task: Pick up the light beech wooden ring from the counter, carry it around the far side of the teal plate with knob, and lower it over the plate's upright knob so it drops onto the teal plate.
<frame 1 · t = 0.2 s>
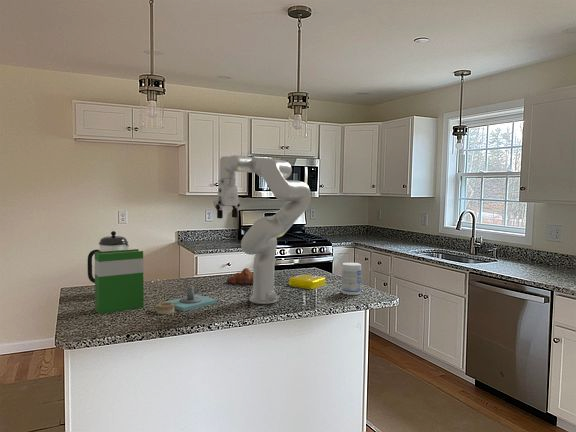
hand: (227, 217, 214), 37 cm above the countertop, tool pointing down, fingers open, 9 cm apart
pastry: (247, 283, 239), on the countertop
supplement tub: (351, 293, 219), on the countertop
element tile: (307, 286, 236), on the countertop
ring: (165, 311, 182), on the countertop
coffee press: (111, 294, 209), on the countertop
hardback book: (119, 308, 186), on the countertop
teal plate with knob: (190, 304, 194), on the countertop
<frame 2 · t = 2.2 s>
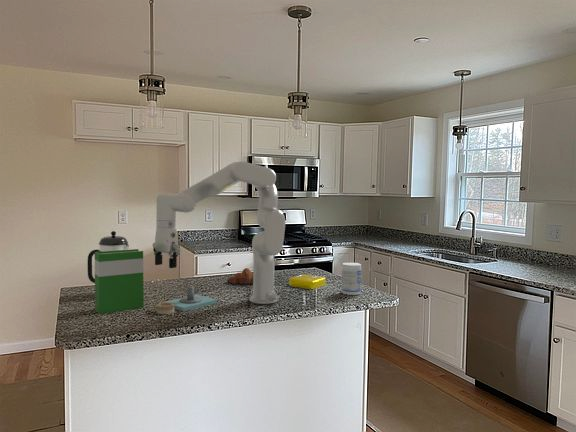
hand: (165, 266, 181), 19 cm above the countertop, tool pointing down, fingers open, 9 cm apart
nothing on the countertop moved.
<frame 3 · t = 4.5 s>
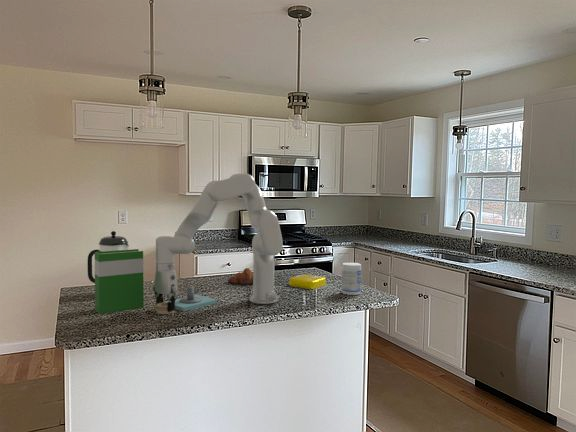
hand: (165, 309, 182), 1 cm above the countertop, tool pointing down, fingers closed on ring, 7 cm apart
ring: (165, 311, 182), on the countertop, touching gripper
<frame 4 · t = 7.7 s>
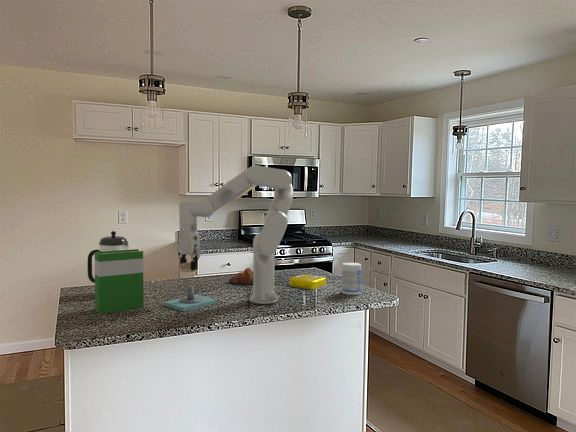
hand: (188, 268, 195), 15 cm above the countertop, tool pointing down, fingers closed on ring, 7 cm apart
ring: (188, 270, 195), point 14 cm above the countertop, touching gripper
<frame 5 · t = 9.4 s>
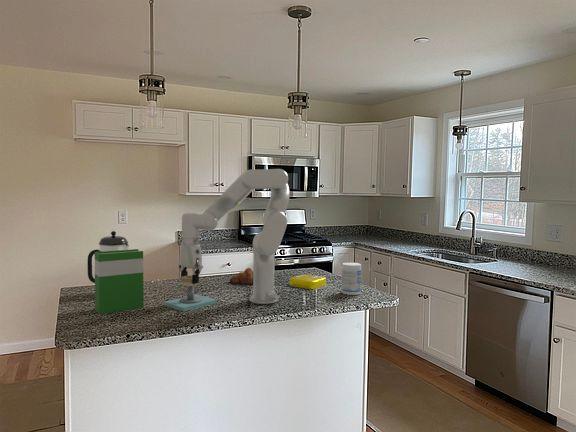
hand: (189, 281, 193), 10 cm above the countertop, tool pointing down, fingers closed on ring, 7 cm apart
ring: (189, 284, 193), point 9 cm above the countertop, touching gripper
when the fingers open (5 cm above the countertop, at t = 10.9 s): ring drops 2 cm, resting on teal plate with knob.
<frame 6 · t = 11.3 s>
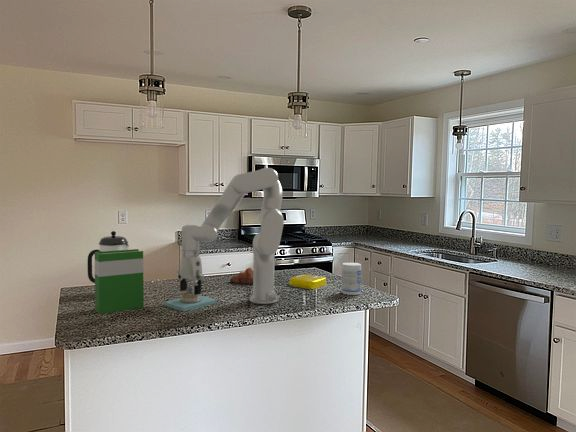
hand: (190, 292, 194), 5 cm above the countertop, tool pointing down, fingers open, 9 cm apart
ring: (190, 299, 194), point 2 cm above the countertop, touching teal plate with knob
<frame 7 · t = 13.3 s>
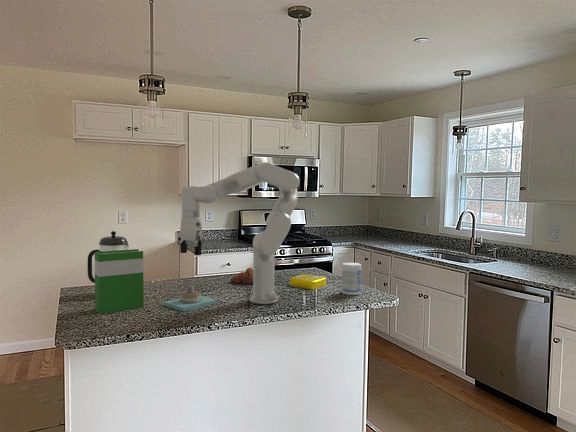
hand: (190, 253, 193), 22 cm above the countertop, tool pointing down, fingers open, 9 cm apart
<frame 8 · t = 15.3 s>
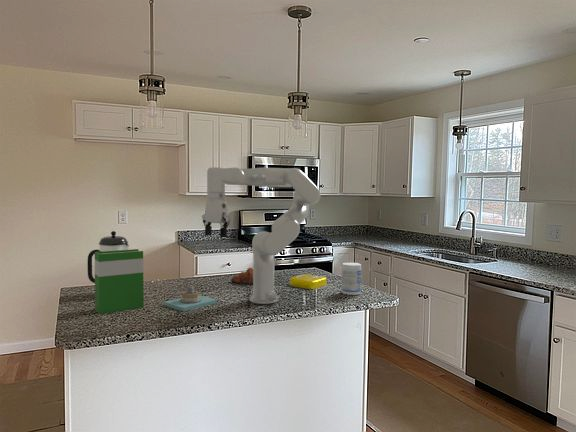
hand: (215, 236, 191), 30 cm above the countertop, tool pointing down, fingers open, 9 cm apart
at the end: ring 0.0 cm from the teal plate with knob (horizontally); ring point 2.1 cm above the countertop; the gripper is holding nothing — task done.
